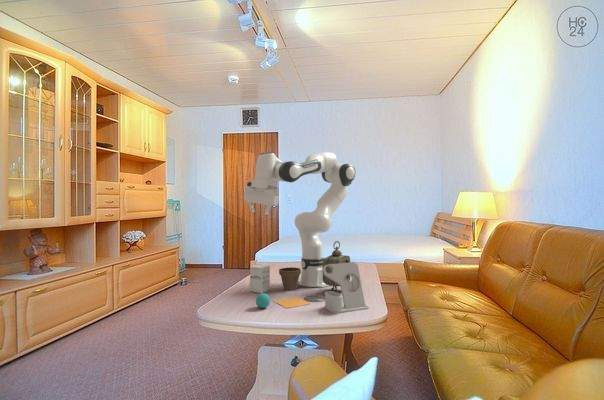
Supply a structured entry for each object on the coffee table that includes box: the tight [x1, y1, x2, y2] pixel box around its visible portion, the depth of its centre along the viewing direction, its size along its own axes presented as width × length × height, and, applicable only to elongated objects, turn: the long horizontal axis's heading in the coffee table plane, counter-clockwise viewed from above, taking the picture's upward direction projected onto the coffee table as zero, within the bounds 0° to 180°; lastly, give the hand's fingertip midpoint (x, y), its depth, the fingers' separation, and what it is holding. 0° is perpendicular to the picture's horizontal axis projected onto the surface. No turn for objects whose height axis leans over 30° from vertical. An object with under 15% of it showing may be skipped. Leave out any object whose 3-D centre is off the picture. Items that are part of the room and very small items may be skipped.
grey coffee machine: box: [323, 261, 370, 314], centre depth 139 cm, size 17×10×18 cm, turn 112°
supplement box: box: [249, 264, 271, 294], centre depth 167 cm, size 7×7×13 cm
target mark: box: [273, 296, 311, 309], centre depth 146 cm, size 12×12×1 cm
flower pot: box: [278, 266, 302, 291], centre depth 171 cm, size 12×11×10 cm
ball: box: [255, 292, 271, 309], centre depth 139 cm, size 6×6×6 cm
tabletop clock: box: [322, 240, 351, 294], centre depth 165 cm, size 14×9×25 cm, turn 148°
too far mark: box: [303, 294, 325, 303], centre depth 152 cm, size 10×10×1 cm
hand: (258, 213), depth 162 cm, fingers open, 8 cm apart
